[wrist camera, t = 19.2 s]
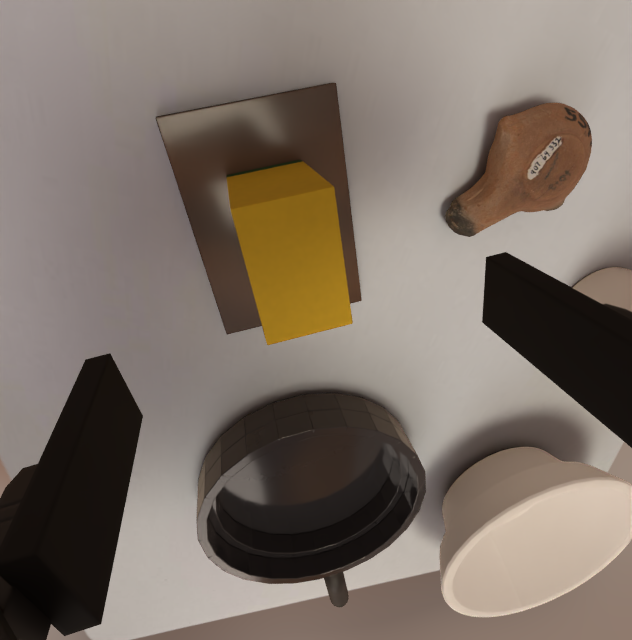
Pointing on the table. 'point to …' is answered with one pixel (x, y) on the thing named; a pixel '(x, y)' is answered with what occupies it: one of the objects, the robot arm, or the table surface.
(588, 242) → the table surface
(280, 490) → the pan
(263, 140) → the brown flat slab
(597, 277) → the candle holder
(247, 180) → the sponge
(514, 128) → the oil lamp
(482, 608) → the bowl
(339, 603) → the pan handle
